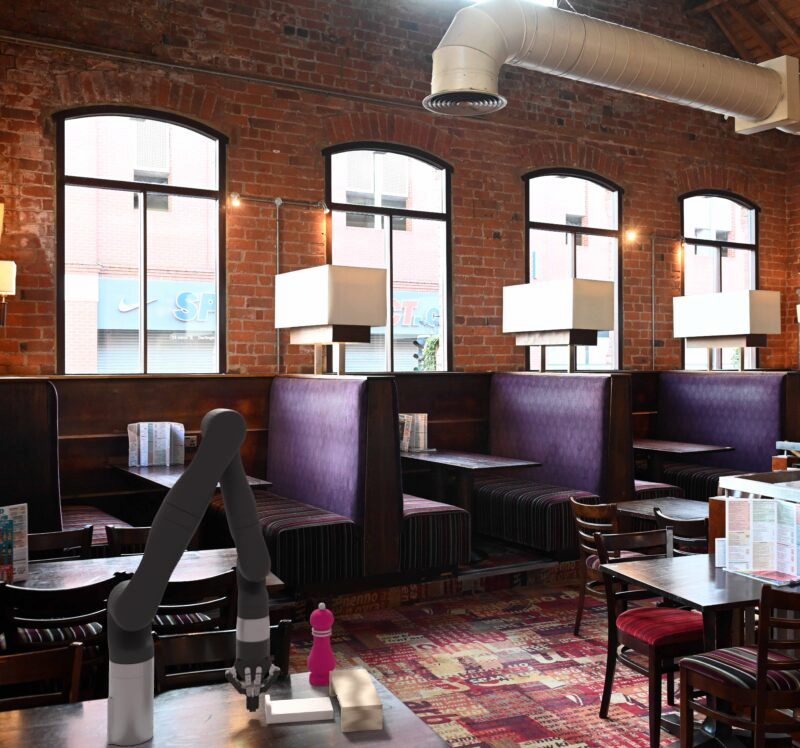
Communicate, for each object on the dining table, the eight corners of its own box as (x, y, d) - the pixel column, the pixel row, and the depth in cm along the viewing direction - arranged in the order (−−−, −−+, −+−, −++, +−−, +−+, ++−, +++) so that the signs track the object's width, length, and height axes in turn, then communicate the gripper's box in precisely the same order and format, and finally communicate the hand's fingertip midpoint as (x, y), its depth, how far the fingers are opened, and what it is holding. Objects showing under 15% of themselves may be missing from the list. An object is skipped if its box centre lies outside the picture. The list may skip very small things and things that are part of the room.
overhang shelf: (342, 732, 192) (342, 707, 192) (329, 693, 215) (329, 671, 215) (382, 729, 194) (382, 704, 194) (365, 691, 216) (365, 668, 216)
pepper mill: (341, 681, 223) (342, 603, 223) (320, 688, 218) (320, 608, 217) (322, 674, 228) (323, 597, 228) (301, 681, 223) (301, 603, 222)
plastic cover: (266, 723, 196) (266, 708, 196) (264, 709, 204) (265, 694, 204) (333, 718, 199) (333, 703, 199) (328, 705, 207) (329, 690, 207)
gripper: (223, 641, 194) (223, 719, 195) (283, 638, 197) (282, 715, 197) (223, 631, 202) (223, 706, 202) (281, 628, 204) (280, 702, 205)
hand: (252, 710), depth 200 cm, fingers closed
